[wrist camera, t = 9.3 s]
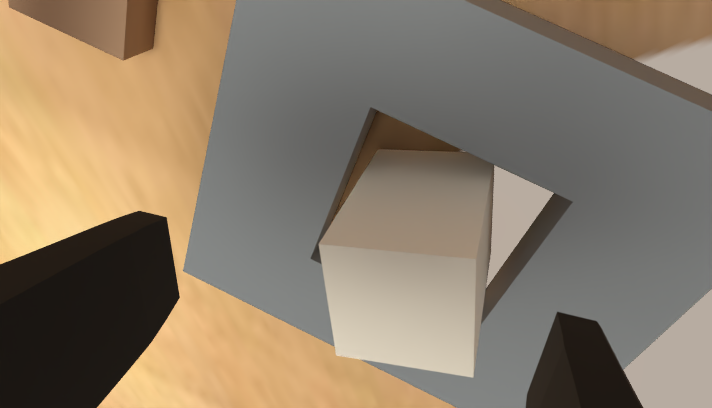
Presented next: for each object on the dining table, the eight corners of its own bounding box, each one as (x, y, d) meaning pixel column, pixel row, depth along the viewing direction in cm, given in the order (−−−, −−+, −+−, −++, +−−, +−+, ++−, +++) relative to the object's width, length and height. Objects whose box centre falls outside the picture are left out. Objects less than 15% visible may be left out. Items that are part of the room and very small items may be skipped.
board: (806, 137, 14) (841, 169, 13) (538, 406, 22) (537, 448, 21) (286, -96, 15) (254, -95, 13) (208, 244, 23) (182, 271, 22)
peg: (494, 152, 17) (475, 259, 12) (490, 252, 19) (473, 378, 14) (378, 148, 18) (318, 244, 13) (385, 242, 20) (336, 355, 15)
